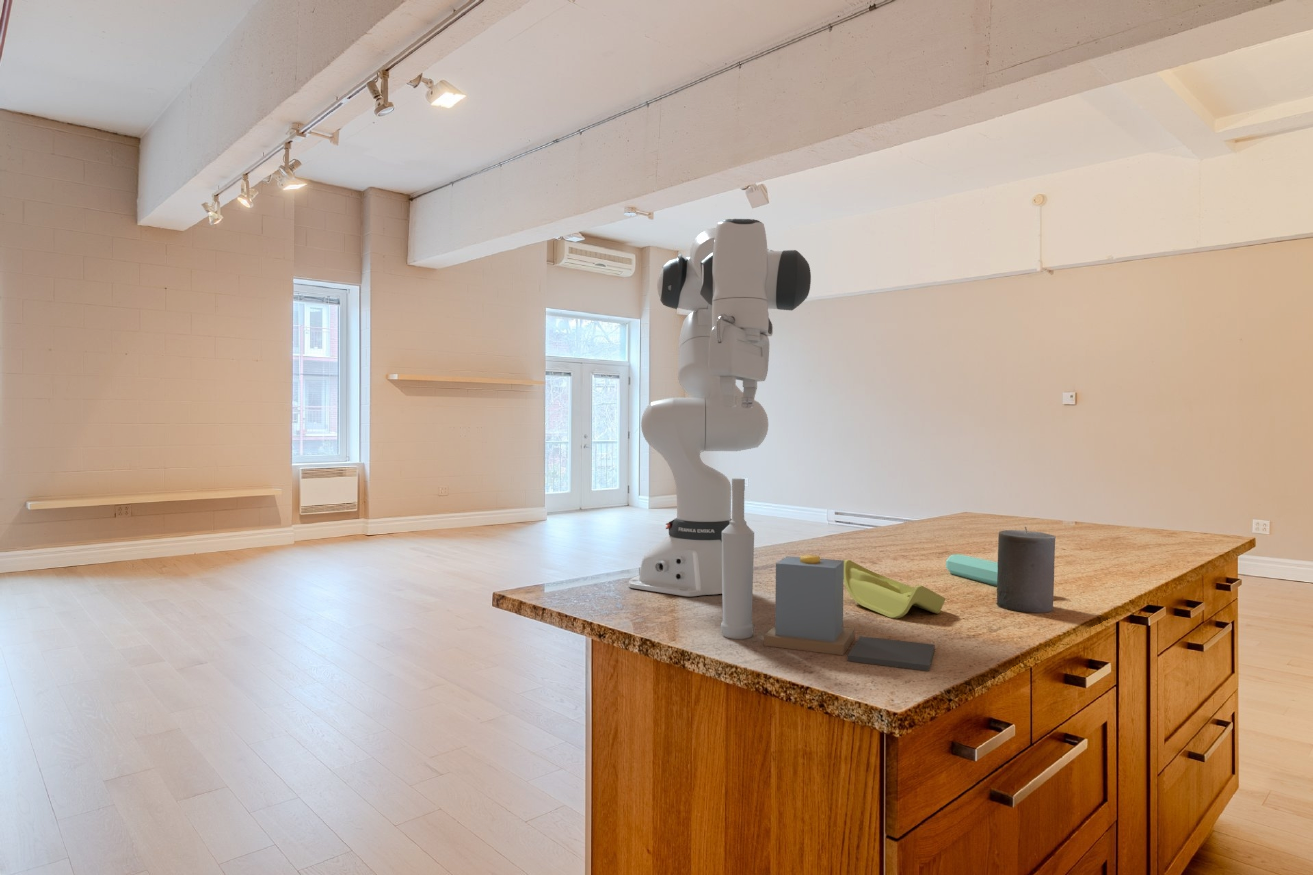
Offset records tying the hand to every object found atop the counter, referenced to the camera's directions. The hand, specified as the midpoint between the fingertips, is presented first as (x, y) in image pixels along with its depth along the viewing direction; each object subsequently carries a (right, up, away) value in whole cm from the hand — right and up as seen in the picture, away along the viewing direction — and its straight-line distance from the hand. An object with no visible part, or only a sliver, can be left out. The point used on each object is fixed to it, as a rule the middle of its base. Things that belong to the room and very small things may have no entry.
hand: (739, 407), depth 124 cm
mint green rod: (+58, -36, +43) cm, 81 cm away
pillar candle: (+56, -37, +21) cm, 70 cm away
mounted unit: (+11, -36, -3) cm, 38 cm away
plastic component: (+30, -37, +22) cm, 52 cm away
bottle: (0, -37, +1) cm, 37 cm away
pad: (+21, -37, -10) cm, 43 cm away
